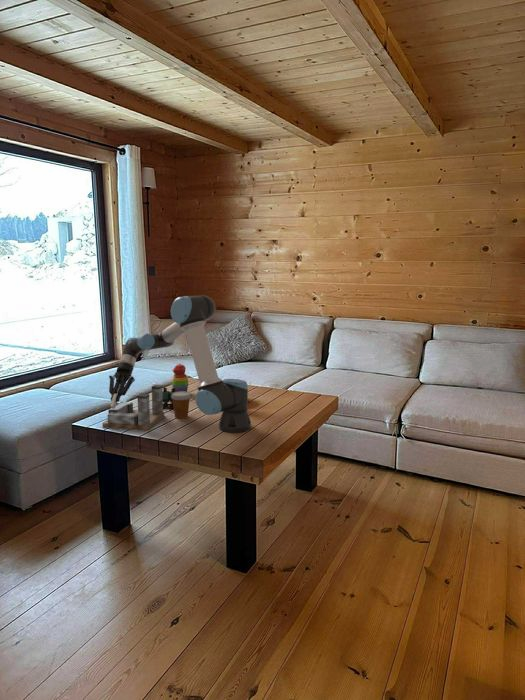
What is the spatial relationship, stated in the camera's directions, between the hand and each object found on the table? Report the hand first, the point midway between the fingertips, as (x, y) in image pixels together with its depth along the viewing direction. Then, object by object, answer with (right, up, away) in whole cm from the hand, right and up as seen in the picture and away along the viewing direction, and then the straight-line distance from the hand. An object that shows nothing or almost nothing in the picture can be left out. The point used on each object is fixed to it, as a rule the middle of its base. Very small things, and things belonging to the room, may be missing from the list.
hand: (112, 407), depth 229 cm
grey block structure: (+9, -8, +6) cm, 13 cm away
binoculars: (+21, -4, +28) cm, 35 cm away
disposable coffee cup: (+30, -7, +14) cm, 34 cm away
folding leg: (+2, -2, +14) cm, 15 cm away
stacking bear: (+23, +1, +54) cm, 59 cm away
